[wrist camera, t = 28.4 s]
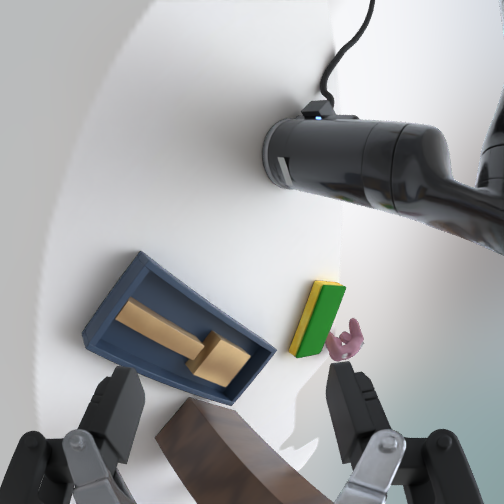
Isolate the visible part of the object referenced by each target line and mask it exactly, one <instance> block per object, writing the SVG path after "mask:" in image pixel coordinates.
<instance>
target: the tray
mask: <svg viewBox="0 0 504 504" xmlns="http://www.w3.org/2000/svg"><path fill="white" fill-rule="evenodd" d="M130 296H131V297H132V298H134V299H136V300H137V301H139V302H140V303H142V304H143V305H145V306H146V307H148V308H150V309H151V310H153V311H154V312H156V313H158V314H159V315H161V316H162V317H164V318H166V319H167V320H169V321H171V322H172V323H174V324H176V325H177V326H179V327H181V328H182V329H184V330H186V331H188V332H189V333H191V334H193V335H195V336H196V337H197V338H198V339H199V340H200V341H201V342H203V341H204V340H205V338H206V337H207V336H208V334H209V333H210V332H211V331H214V332H216V333H217V334H219V335H221V336H222V337H224V338H226V339H227V340H229V341H231V342H232V343H234V344H236V345H238V346H239V347H241V348H242V349H243V350H245V351H246V352H247V353H248V354H249V355H250V356H251V357H250V358H249V359H248V361H247V362H246V363H245V364H244V366H243V367H242V368H241V369H240V370H239V372H238V373H237V374H236V375H235V377H234V378H233V379H232V380H231V382H230V383H229V384H228V385H227V386H226V387H224V386H221V385H218V384H216V383H213V382H211V381H208V380H206V379H203V378H201V377H198V376H196V375H193V374H192V372H191V371H190V370H189V368H188V367H187V366H186V365H185V363H186V362H187V361H188V360H189V358H187V357H185V356H183V355H181V354H179V353H177V352H175V351H173V350H171V349H169V348H167V347H165V346H163V345H161V344H159V343H157V342H156V341H154V340H152V339H150V338H148V337H146V336H144V335H142V334H141V333H139V332H137V331H135V330H133V329H132V328H130V327H128V326H126V325H125V324H123V323H121V322H119V321H118V320H116V319H115V317H116V315H117V314H118V313H119V311H120V310H121V309H122V307H123V306H124V304H125V303H126V302H127V300H128V299H129V298H130ZM82 337H83V341H84V345H85V348H86V349H87V350H89V351H91V352H93V353H95V354H97V355H99V356H101V357H103V358H106V359H108V360H110V361H112V362H114V363H116V364H118V365H121V366H123V367H134V368H135V369H136V372H137V373H139V374H141V375H144V376H146V377H149V378H151V379H154V380H156V381H159V382H161V383H164V384H166V385H169V386H172V387H175V388H177V389H180V390H183V391H186V392H189V393H191V394H194V395H197V396H200V397H203V398H207V399H210V400H213V401H216V402H219V403H223V404H226V405H230V406H232V405H233V404H234V402H236V400H237V399H238V398H239V397H240V396H241V394H242V393H243V392H244V391H245V390H246V388H247V387H248V386H249V385H250V384H251V382H252V381H253V380H254V379H255V378H256V376H257V375H258V374H259V373H260V371H261V370H262V369H263V368H264V366H265V365H266V364H267V363H268V361H269V360H270V359H271V357H272V356H273V355H274V354H275V352H276V351H277V349H275V348H274V347H273V346H272V345H270V344H269V343H268V342H266V341H265V340H264V339H262V338H261V337H259V336H258V335H256V334H255V333H253V332H252V331H250V330H249V329H247V328H246V327H244V326H243V325H241V324H240V323H239V322H237V321H236V320H234V319H233V318H231V317H230V316H228V315H227V314H226V313H224V312H223V311H221V310H220V309H218V308H217V307H216V306H214V305H213V304H211V303H210V302H209V301H207V300H206V299H204V298H203V297H202V296H200V295H199V294H198V293H196V292H195V291H193V290H192V289H191V288H189V287H188V286H187V285H185V284H184V283H183V282H181V281H180V280H179V279H177V278H176V277H175V276H173V275H172V274H171V273H169V272H168V271H167V270H165V269H164V268H163V267H161V266H160V265H159V264H158V263H156V262H155V261H154V260H152V259H151V258H150V257H149V256H147V255H146V254H145V253H143V252H142V251H140V253H139V254H138V255H137V256H136V258H135V259H134V260H133V262H132V263H131V264H130V266H129V267H128V268H127V270H126V271H125V272H124V274H123V275H122V276H121V278H120V279H119V280H118V282H117V283H116V284H115V286H114V287H113V289H112V290H111V291H110V293H109V294H108V296H107V297H106V298H105V300H104V301H103V303H102V304H101V305H100V307H99V308H98V310H97V311H96V313H95V314H94V316H93V317H92V319H91V320H90V322H89V323H88V324H87V326H86V327H85V329H84V331H83V332H82Z"/></svg>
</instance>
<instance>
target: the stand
mask: <svg viewBox="0 0 504 504" xmlns="http://www.w3.org/2000/svg"><path fill="white" fill-rule="evenodd" d="M155 439H156V441H157V443H158V445H159V446H160V448H161V450H162V451H163V453H164V455H165V456H166V458H167V460H168V461H169V463H170V464H171V466H172V467H173V469H174V471H175V472H176V474H177V475H178V477H179V478H180V480H181V481H182V483H183V484H184V486H185V487H186V488H187V490H188V491H189V493H190V494H191V496H192V497H193V498H194V500H195V501H196V502H197V504H333V502H332V501H331V500H330V499H328V498H327V497H326V496H325V495H323V494H322V493H321V492H320V491H319V490H317V489H316V488H315V487H314V486H313V485H311V484H310V483H309V482H308V481H307V480H306V479H305V478H304V477H302V476H301V475H300V474H299V473H298V472H297V471H296V470H295V469H293V468H292V467H291V466H290V465H289V464H288V463H287V462H286V461H285V460H284V459H283V458H282V457H281V456H279V455H278V454H277V453H276V452H275V451H274V450H273V449H272V448H271V447H270V446H269V445H268V444H267V443H266V442H265V441H264V440H263V439H262V438H261V437H260V436H259V435H258V434H257V433H256V432H255V431H254V430H253V429H252V428H251V427H250V426H249V425H248V424H247V423H246V422H245V420H244V419H243V418H242V417H241V416H240V415H239V414H238V413H237V412H236V411H235V410H231V409H227V408H224V407H220V406H217V405H213V404H210V403H206V402H203V401H200V400H197V399H194V398H191V397H189V398H188V399H187V400H186V402H185V403H184V404H183V405H182V406H181V408H180V409H179V410H178V411H177V412H176V413H175V415H174V416H173V417H172V418H171V419H170V421H169V422H168V423H167V424H166V425H165V426H164V428H163V429H162V430H161V431H160V432H159V433H158V435H157V436H156V437H155Z"/></svg>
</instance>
